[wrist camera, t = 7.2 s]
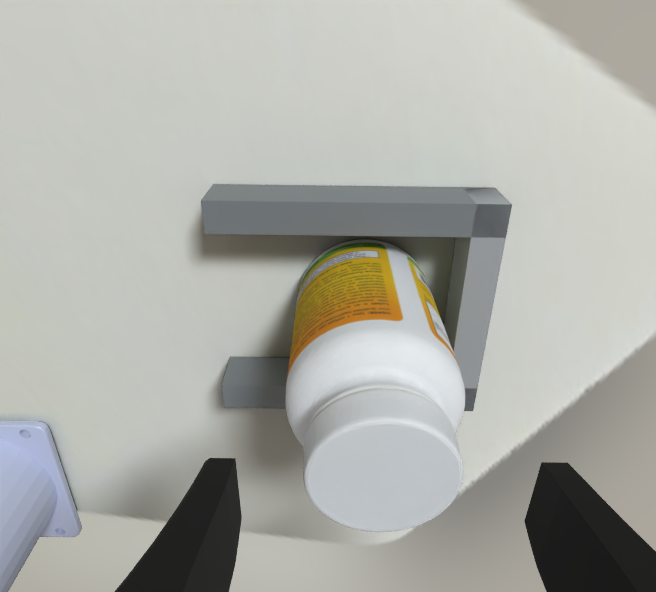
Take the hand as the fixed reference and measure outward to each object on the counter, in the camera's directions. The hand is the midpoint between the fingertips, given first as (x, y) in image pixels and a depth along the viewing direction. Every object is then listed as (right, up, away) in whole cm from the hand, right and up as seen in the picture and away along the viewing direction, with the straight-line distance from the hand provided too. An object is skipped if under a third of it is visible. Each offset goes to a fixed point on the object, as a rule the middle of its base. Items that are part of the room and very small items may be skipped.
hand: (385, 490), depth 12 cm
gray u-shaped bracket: (0, +5, +9) cm, 10 cm away
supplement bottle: (0, +5, +9) cm, 10 cm away
